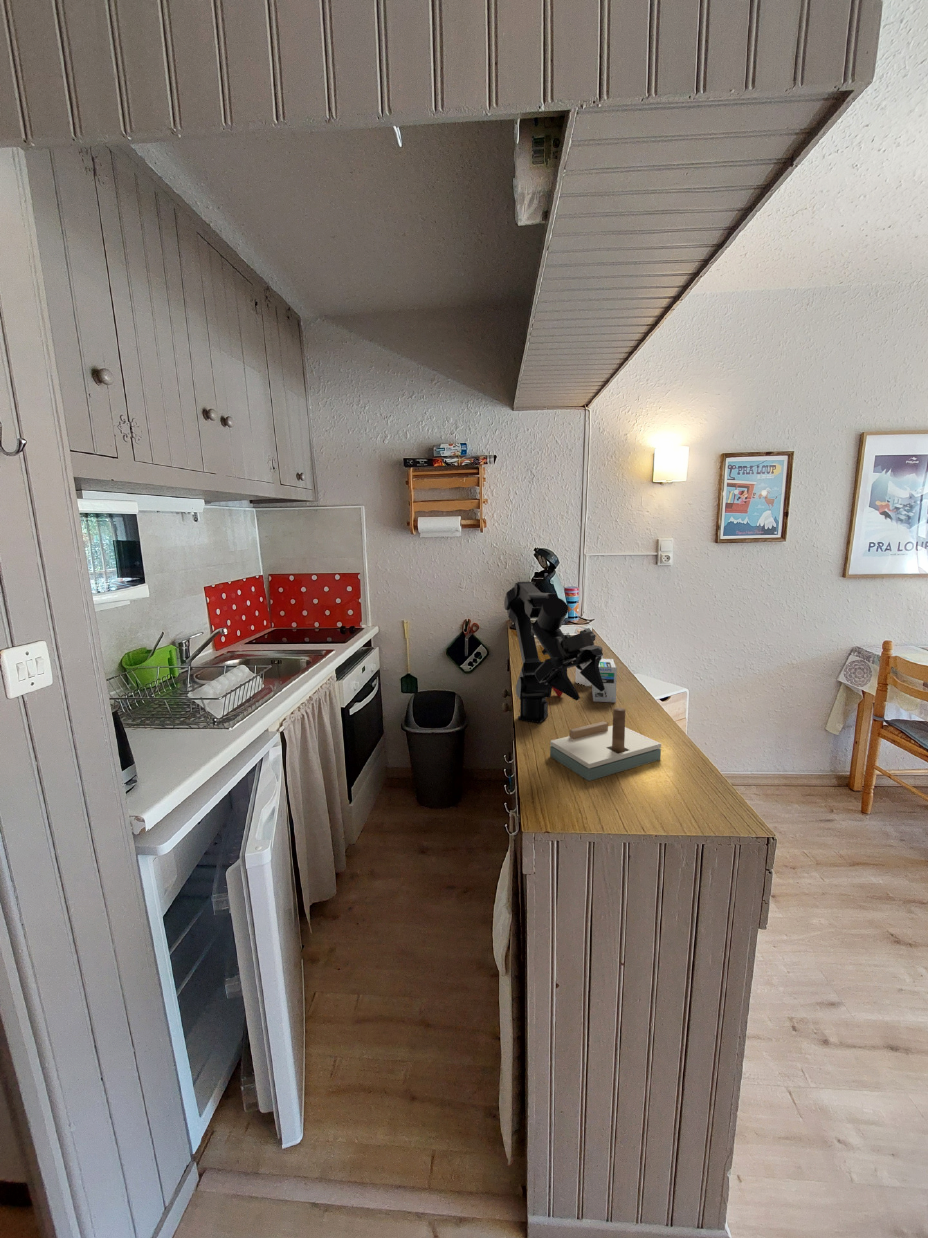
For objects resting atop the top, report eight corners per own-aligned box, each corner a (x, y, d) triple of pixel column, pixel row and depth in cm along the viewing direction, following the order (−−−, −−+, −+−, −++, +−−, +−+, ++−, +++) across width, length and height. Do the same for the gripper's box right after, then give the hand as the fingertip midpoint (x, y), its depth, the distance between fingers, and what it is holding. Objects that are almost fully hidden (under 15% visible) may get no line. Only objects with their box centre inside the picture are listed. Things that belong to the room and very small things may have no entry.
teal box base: (550, 756, 112) (550, 746, 112) (617, 738, 121) (618, 729, 120) (588, 781, 101) (588, 770, 100) (660, 759, 109) (660, 749, 109)
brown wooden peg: (609, 764, 108) (610, 709, 106) (617, 761, 109) (619, 706, 107) (617, 768, 106) (619, 712, 103) (626, 766, 107) (628, 710, 105)
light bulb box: (616, 703, 146) (617, 667, 144) (592, 702, 147) (593, 666, 145) (613, 691, 156) (614, 658, 154) (591, 690, 157) (591, 657, 156)
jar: (599, 678, 170) (600, 644, 168) (605, 686, 162) (606, 650, 160) (572, 679, 170) (573, 644, 168) (578, 686, 162) (578, 650, 160)
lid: (550, 745, 112) (550, 733, 111) (618, 727, 120) (618, 716, 120) (588, 768, 100) (589, 755, 100) (660, 747, 109) (661, 735, 108)
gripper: (545, 623, 106) (587, 683, 100) (597, 613, 118) (637, 667, 112) (518, 653, 114) (556, 711, 107) (569, 641, 125) (606, 693, 119)
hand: (591, 694), depth 111 cm, fingers open, 9 cm apart
